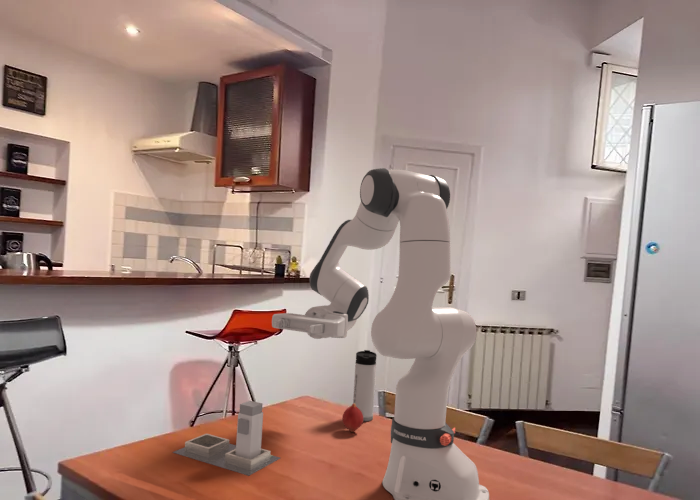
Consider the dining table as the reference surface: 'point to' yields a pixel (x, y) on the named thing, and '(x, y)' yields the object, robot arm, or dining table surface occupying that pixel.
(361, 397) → the travel mug
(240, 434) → the plug
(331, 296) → the robot arm
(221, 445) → the panel
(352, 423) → the onion
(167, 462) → the dining table surface
